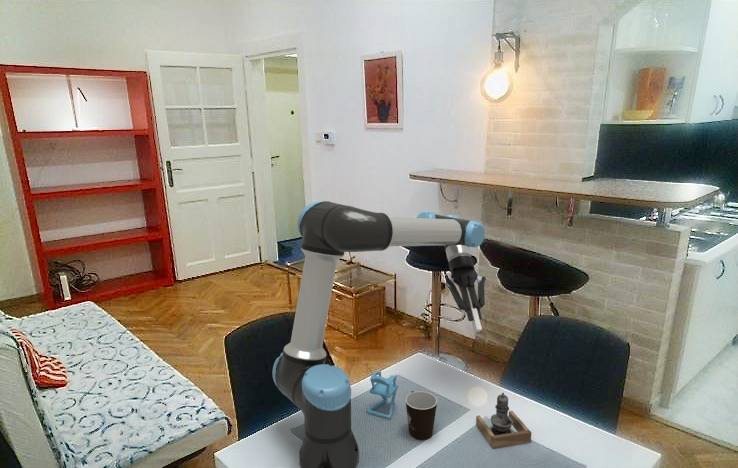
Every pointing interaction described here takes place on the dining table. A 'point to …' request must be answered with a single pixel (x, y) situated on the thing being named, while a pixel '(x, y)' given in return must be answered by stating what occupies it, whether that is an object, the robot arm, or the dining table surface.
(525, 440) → the pocket
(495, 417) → the chess piece
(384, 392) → the chair
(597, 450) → the dining table surface
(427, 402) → the coffee mug
